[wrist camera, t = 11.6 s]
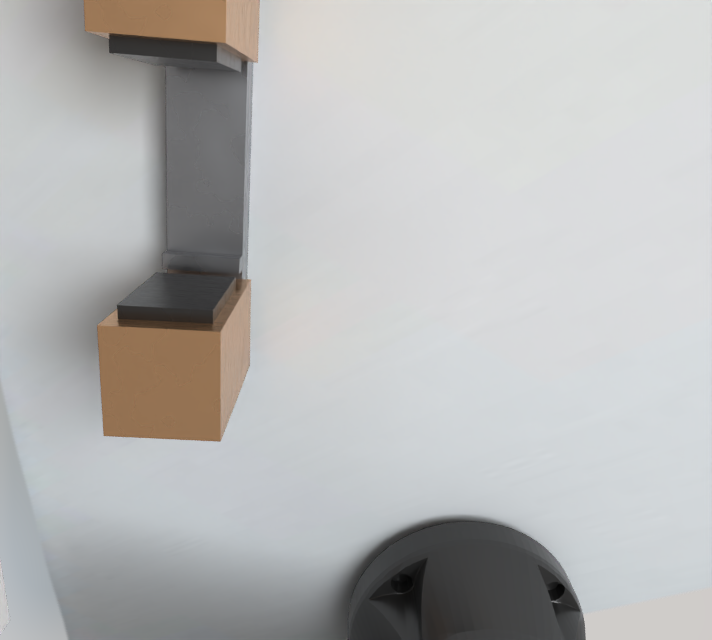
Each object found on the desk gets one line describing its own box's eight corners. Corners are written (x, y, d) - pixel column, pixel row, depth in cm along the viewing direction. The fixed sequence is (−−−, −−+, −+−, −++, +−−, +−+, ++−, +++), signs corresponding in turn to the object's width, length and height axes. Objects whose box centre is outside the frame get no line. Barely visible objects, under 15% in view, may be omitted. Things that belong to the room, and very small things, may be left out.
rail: (252, 376, 39) (218, 472, 29) (168, 371, 39) (103, 465, 28) (267, -76, 32) (229, -169, 22) (164, -85, 32) (76, -184, 21)
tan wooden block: (249, 365, 37) (220, 441, 28) (160, 361, 37) (103, 435, 28) (250, 268, 35) (220, 318, 27) (157, 263, 35) (96, 311, 26)
